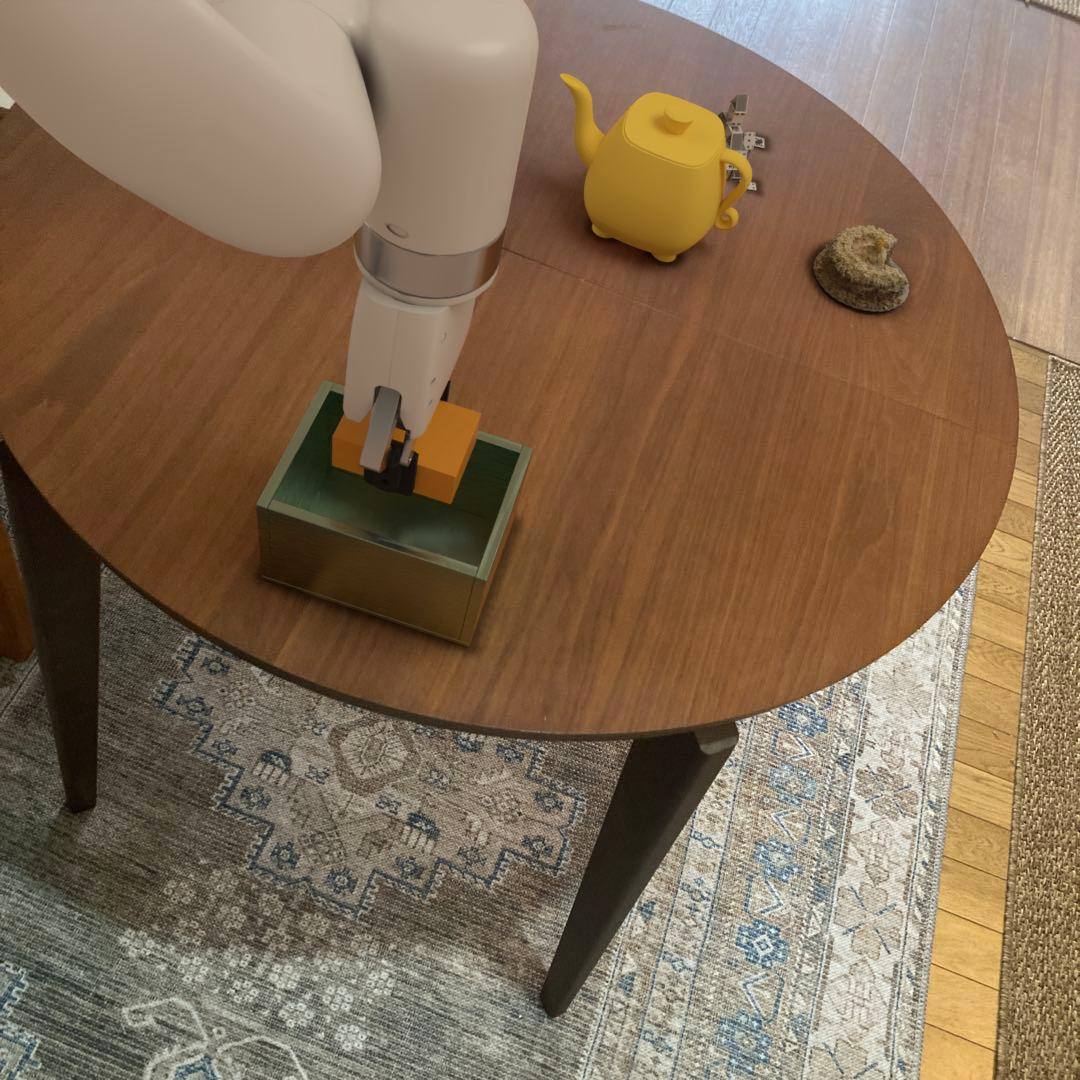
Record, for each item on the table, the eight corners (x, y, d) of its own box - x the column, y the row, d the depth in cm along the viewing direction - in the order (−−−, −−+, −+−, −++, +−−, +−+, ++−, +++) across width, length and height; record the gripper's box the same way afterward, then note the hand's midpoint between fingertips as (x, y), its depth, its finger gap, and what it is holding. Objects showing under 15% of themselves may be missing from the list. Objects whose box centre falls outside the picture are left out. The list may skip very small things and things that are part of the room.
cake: (823, 316, 101) (842, 274, 97) (801, 246, 107) (817, 203, 102) (920, 317, 103) (942, 275, 98) (893, 248, 108) (913, 205, 104)
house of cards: (790, 190, 110) (819, 128, 104) (716, 190, 108) (740, 127, 102) (762, 136, 115) (788, 73, 109) (690, 135, 113) (712, 71, 106)
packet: (331, 465, 66) (332, 436, 64) (362, 404, 69) (363, 374, 67) (450, 504, 66) (455, 477, 64) (475, 441, 69) (481, 413, 67)
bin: (261, 579, 74) (255, 504, 66) (322, 459, 81) (323, 378, 73) (468, 647, 74) (486, 580, 66) (512, 522, 81) (534, 448, 73)
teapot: (706, 297, 99) (752, 188, 88) (513, 219, 100) (536, 103, 89) (739, 214, 107) (786, 105, 96) (560, 143, 108) (587, 27, 97)
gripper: (414, 116, 57) (394, 343, 72) (292, 322, 48) (299, 535, 63) (543, 158, 57) (496, 376, 72) (447, 373, 48) (417, 574, 63)
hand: (405, 448), depth 67 cm, fingers closed on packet, 5 cm apart
